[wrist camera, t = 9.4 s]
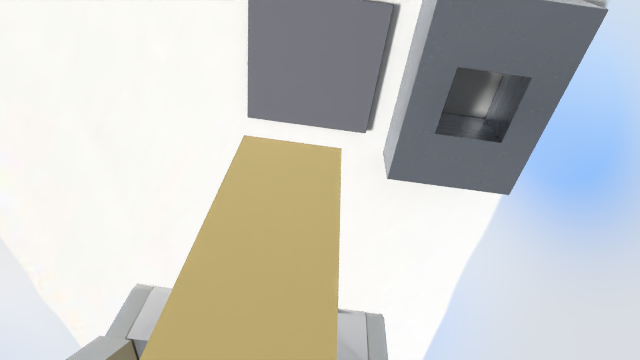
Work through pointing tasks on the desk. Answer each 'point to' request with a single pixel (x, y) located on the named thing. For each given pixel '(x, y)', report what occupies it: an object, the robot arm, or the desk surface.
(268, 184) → the square block
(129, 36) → the desk surface
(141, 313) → the robot arm
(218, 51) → the desk surface
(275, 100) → the rubber mat
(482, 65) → the grey block with hole
